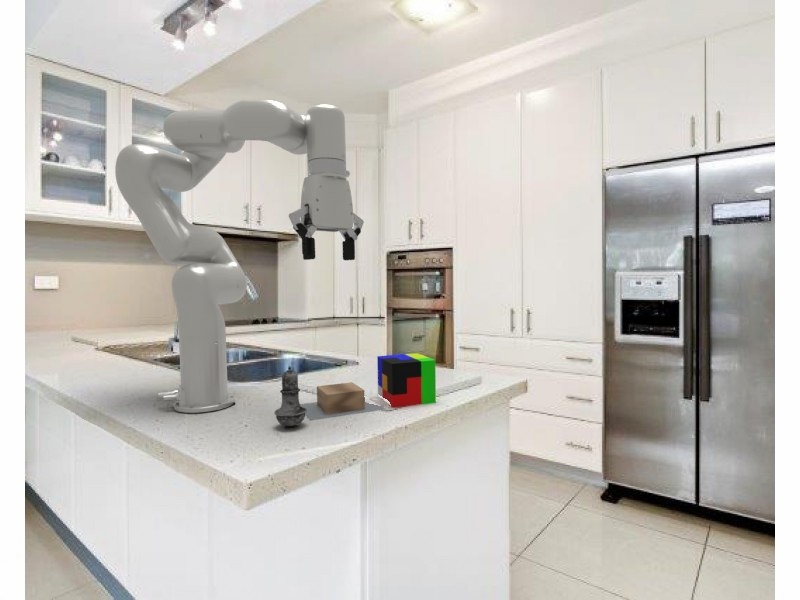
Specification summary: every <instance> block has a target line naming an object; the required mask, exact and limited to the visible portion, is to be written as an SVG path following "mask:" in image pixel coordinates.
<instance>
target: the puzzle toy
mask: <svg viewBox="0 0 800 600" xmlns="http://www.w3.org/2000/svg"><path fill="white" fill-rule="evenodd" d="M376 358H377V362H376V363H377V395H378V394H379V395H380V396H382V397H383V398H385V399H387V400H388V401H389V402H390V404H391V406H390V408H392V409H395V408H402V407H410V406H417V405H418V406H419V405H420V406H421V405H427V404H435V403H437V402H436V399H437V398H436V397H437V394H436V390H437V389H436V386H437V385H436V383H437V382H436V377H437V376H436V359H433V358H431V357H428V356H426V355H424V354H420V353H418V352H417V353H404V354H403V353H400V354H390V355H377V357H376Z"/></svg>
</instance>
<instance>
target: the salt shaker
mask: <svg viewBox="0 0 800 600" xmlns="http://www.w3.org/2000/svg"><path fill="white" fill-rule="evenodd" d="M300 391H301V389H300V388H299V377H298V372H297V371H295V370H293V369H292V366H291V365H288V367H287V370H286V371H284V372H283V373H282V375H281V390H279V393H280V394H281V406H280V407H279V408H277V409H276V410H274V412H273V413H274V415H275V416H276V417H275V418H276V421H277V422H278V423H279V424H280V425H281V426H283V427H284V428H285V429H287V430H288V429H289V430H291V429H296V428H298V425H300V424H301V423H302V422H303V421H304V420H305V417H306V415H305V413H306V411H307V409H306V408H304V407H301V406H300V404H301V403H300V398H299V397H300V395H299V394H300V393H299V392H300Z"/></svg>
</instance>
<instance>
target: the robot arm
mask: <svg viewBox="0 0 800 600" xmlns="http://www.w3.org/2000/svg"><path fill="white" fill-rule="evenodd" d="M306 111H307V112H306V115H303V114H300V113H299V112H297V111H295V110H294V109H293V108H291V107H290V106H287V105H286V104H284V103H282V102H280V101H277V100H272V99H244V100H238V101H236V102H234V103H232V104H231V105H229V106H228V107H227V108H226V109H195V110H194V109H189V110H188V109H187V110H186V109H185V110H176V111H174V112H172V113H170V114H169V115H167V116H166V117H165V119H164V121H163V127H162V130H163V134H164V136H165V138H166V139H167V142H169V143H170V144H171V145H172V147H173V146H174V147H175V148H176V149H178V150H180V151H183V152H182V153H181V154H178V153H174V152H171V151H168V150H166V149H162V148H160V147H157V146H153V145H149V144H143V143H134V144H129V145H126V146H125V147H123V148H122V149H121V150H120V152H119V153H118V155H117V158H116V161H115V167H114V169H115V170H114V172H115V173H114V174H115V179H116V184H117V187H118V190H119V192H120V194H121V195H122V197H123V199H124V200H125V202H126V204H127V205H128V206H129V209H131V210H132V212H133V213H134V214H135V216H136V218H137V220H138V221H139V223H140V224H141V226H142V228H143V230H144V231H145V233H146V235H147V236H148V238H149V240H150V241H151V243H152V246H154V247H153V248H154V249H155V250H156V252H157V253H158V255H159V256H160V257H161V260H163V261H164V262H165V263H167V264H169V265H172V266H180V267H179V268H178V269H177V270H176V271H175V273H174V274H173V276H172V279H171V291H172V297H173V299H174V304H175V309H176V316H177V324H178V325H177V326H178V327H177V328H178V344H179V345H178V347H179V349H178V351H179V376H180V384H179V387H177V388H174V390H162V391H158V392H157V401H163V402H170V401H174V403H173V409H174V411H176V412H179V413H187V414H195V413H197V414H198V413H200V414H201V413H209V412H214V411H219V410H222V409H226V408H228V407H230V406H233V405H234V404H235V401H236V396H235V395H233V394H231V393H229V392H228V390H229V389H228V388H229V387H228V364H227V363H228V362H227V361H228V360H227V359H228V358H227V334H226V331H227V329H226V328H227V327H226V322H225V318H224V315H223V312H222V310H221V308H220V306H219V305H228V304H233V303H234V304H235V303H237V302H238V301H240V300H242V299H243V297H244V296H245V294H246V292H247V288H248V283H247V277H246V275H245V273H244V271H243V268H242V267H241V265H240V263H239V262H238V260H237V258H236V257H235V256H234V254H233V252H232V250H231V249H230V247H229V246H228V243H227V242H226V240H225V239H224V238H223V236H222V235H220V234H219V233H218V232H217V231H216V230H214V229H213V228H211V227H207V226H201V225H195V224H192V223H190V222H189V221H188V220H187V219H186V217H185V216H184V215H183V213H182V211H181V210H180V208H179V206H178V205H177V204H176V202H175V201H174V200H173V198H171V197H170V196H169V195H168V194H167V193H166V192H165V191H164V190H163V189H165V190H170V191H173V192H178V193H181V192H182V193H183V192H188V191H191V190H193V189H195V188H196V187H197V186H198V185H199V184H200V183H201V181H203V179H205V178H206V176H207V175H208V174H210V172H211V171H212V170H213V169H215V168H216V166H218V164H220V162H221V161H222V160H223V159H224V157H225V156H226V155H227V154H228V153H229V154H230V153H231V154H233V153H237V152H239V151H241V149H242V148H243V147H244V145H245V141H260V142H261V141H262V142H268V143H270V144H273V145H274V146H277V147H279V148H280V149H282V150H284V151H287V152H289V153H290V154H293V155H299V156H300V155H306V157H307V158H306V159H307V160H306V163H307V165H306V166H307V176H306V177H304V179H303V183H302V188H301V195H300V196H301V198H300V208H298V209H297V210H294V211H292V212H290V213H289V214H288V219H289V220H290V223H291V225H292V228H293V230H294V231H295V232H296V234H297V235H298V237H299V239H300V240H301V254H302V259H303V260H306V261H307V260H308V261H309V260H315V259H316V239H315V237H313V236H314V234H315V233H316V232H330V233H331V232H332V233H337V232H339V233H340V234H341V236H342V238H343V241H342V243H341V244H342V259H343V261H354V260H355V259H356V248H355V247H356V245H355V243H356V242H355V241H357V240H358V236H359V235H360V234H362V233H361V232H362V228H363V226H364V223H365V222H364V220H363V219H362V218H361V217H360V216H358V215H357V214H356V213H355V212H354V205H353V197H352V192H351V186H350V181H349V180H348V179H347V178H349V177H350V176H351V175H350V174H351V172H350V171H349V170H347V153H346V151H347V149H346V119H345V114H344V112H343V111H342V109H340V107H337V106H335V105H333V104H317V105H313V106H311V107H310V108H308V110H306Z"/></svg>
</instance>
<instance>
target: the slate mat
mask: <svg viewBox="0 0 800 600" xmlns="http://www.w3.org/2000/svg"><path fill="white" fill-rule="evenodd" d="M300 406H301V407H304V408H306V409H307V411H306V413H305V417H306V418H307V419H308V420H309V421H317V420H322V419H323V420H324V419H328V418H337V417H342V416H343V417H344V416H351V415H356V414H363V413H364V414H365V413H371V412H378V411H383V410H386V408H385V407H383V405H381V406H378V405H374V404H369V403H366V402H365V409H363V410H356V411H349V412H342V413H335V414H328V415H327V414H326V413H325V412H324V411H323V410H322V409H321V408H320V407H319V406H318V405H317V401H313V402H307V403H300Z"/></svg>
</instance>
